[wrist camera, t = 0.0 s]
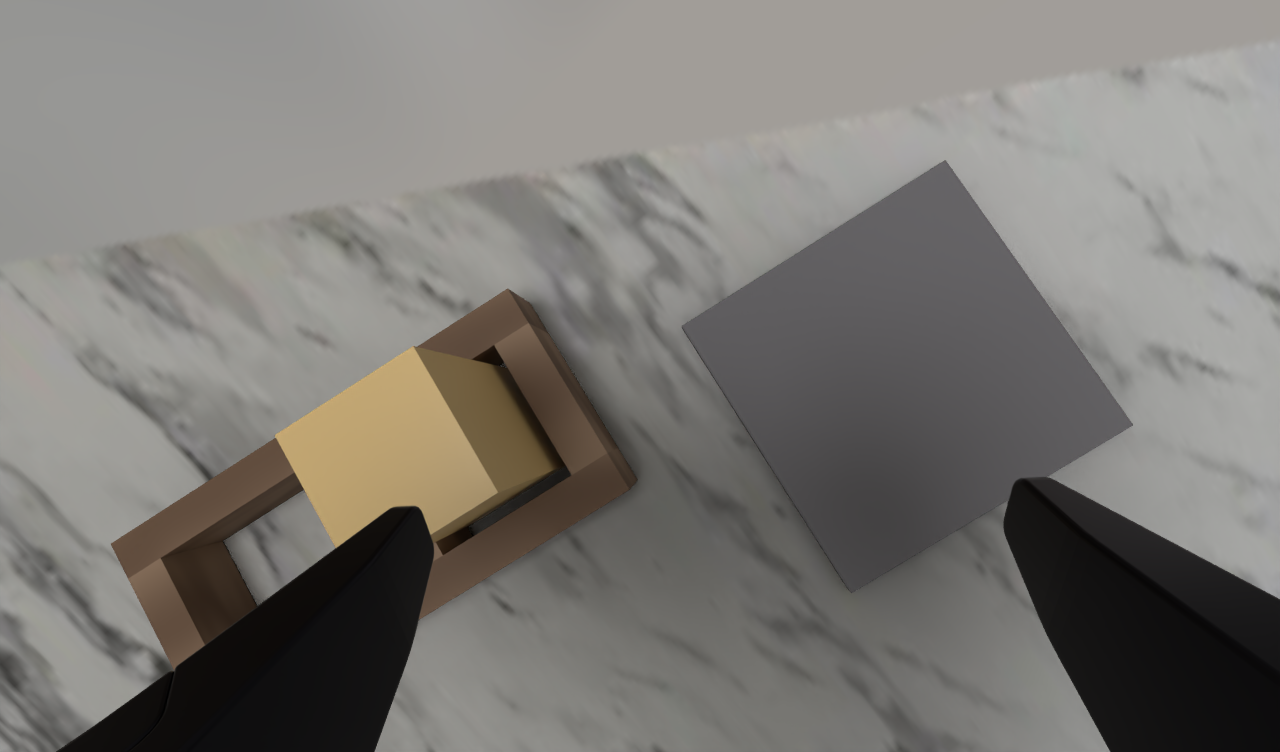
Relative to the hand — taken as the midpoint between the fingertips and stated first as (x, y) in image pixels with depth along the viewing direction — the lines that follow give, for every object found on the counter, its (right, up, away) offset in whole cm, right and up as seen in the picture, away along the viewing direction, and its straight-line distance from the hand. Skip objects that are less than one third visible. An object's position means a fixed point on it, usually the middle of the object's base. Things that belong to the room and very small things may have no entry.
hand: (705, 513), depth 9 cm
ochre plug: (-7, -1, +16) cm, 17 cm away
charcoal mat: (+9, +2, +14) cm, 17 cm away
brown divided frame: (-11, -3, +16) cm, 20 cm away
